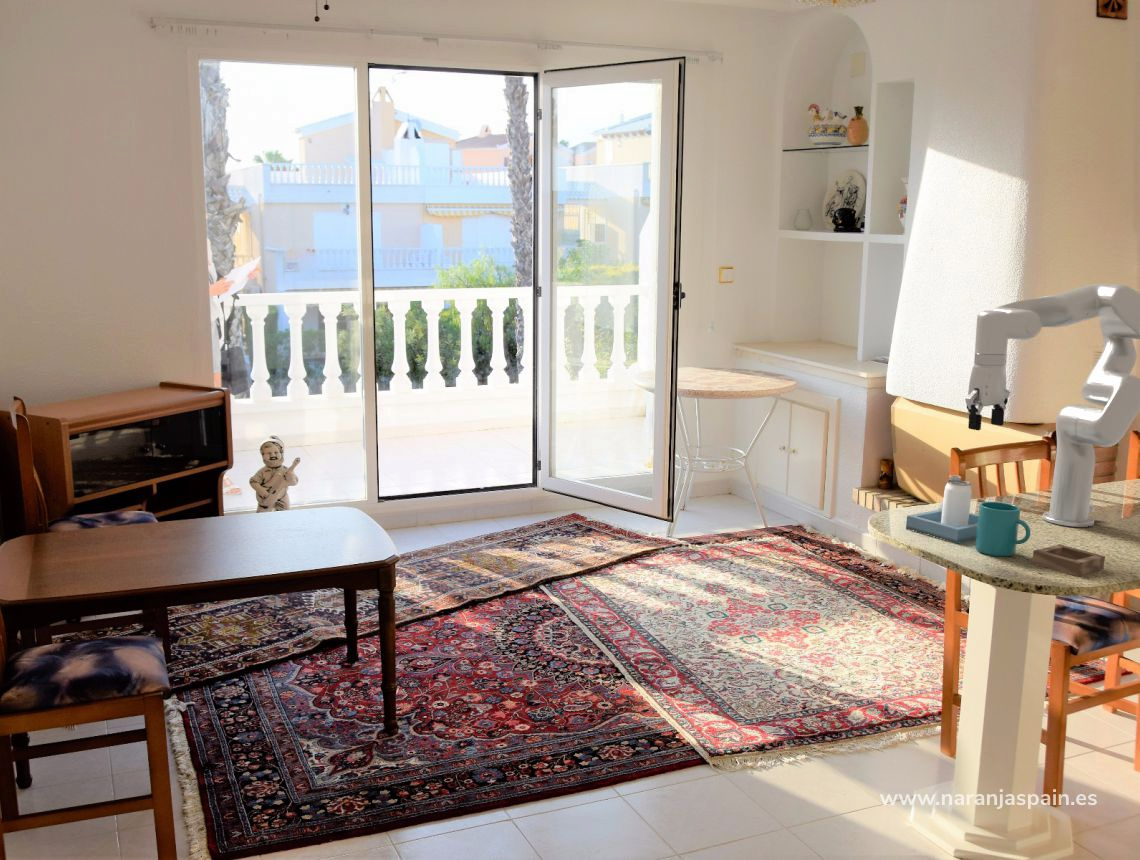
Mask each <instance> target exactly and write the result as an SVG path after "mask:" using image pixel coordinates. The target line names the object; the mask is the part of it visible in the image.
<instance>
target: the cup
mask: <svg viewBox="0 0 1140 860" xmlns="http://www.w3.org/2000/svg"><path fill="white" fill-rule="evenodd" d="M978 506H979V507H978V514H977V515H978V524H977V533H976V539H975V543H974V544H975V546H974V548H975V550H976V551H978V553H981V554H983V553H984V555H987V556H991V555H992V556H991V557H999V556H1000V557H1003V558H1005V557H1006V558H1007V557H1011V556H1015V554H1016V551H1017V545H1022V544H1025V543H1026V542H1027V541H1028V540H1029V538H1030V537H1031V528H1030V526H1029V524H1028V523H1027V522H1025V521H1024V520H1022V519H1020V515H1021V508H1020V507H1019V506H1017V505H1014V504H1011V503H1008V502H1007V503H1006V502H1000V501H983V502H980V503H979V505H978ZM1019 525H1021V526H1022V527H1023V528H1024V530H1025V535H1024V537H1023V538H1021V539H1018V534H1019V533H1018V532H1019Z"/></svg>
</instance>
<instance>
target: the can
mask: <svg viewBox="0 0 1140 860" xmlns="http://www.w3.org/2000/svg"><path fill="white" fill-rule="evenodd" d="M946 482H947V483H946V485H945V487H944V492H943V498H944V499H942V500H943V508H942V517H941V523H942V524H946V525H949V526H953V527H961V526H966V525H968V519H969V513H970V509H971V500H972V494H973V493H972V487H971V482H969V481H964V480H950V479H949V480H947V481H946Z"/></svg>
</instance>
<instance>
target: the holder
mask: <svg viewBox="0 0 1140 860" xmlns="http://www.w3.org/2000/svg"><path fill="white" fill-rule="evenodd" d="M1032 551H1033V553H1032V559H1031V563H1032V564H1033V565H1036V564H1037V566H1040V567H1043V568H1044V567H1045V568H1047V569H1050V570H1054V571H1058V572H1061V573H1063V574H1064V573H1065V574H1069V575H1072V576H1075V577H1080V576H1083V575H1087V574H1090V573H1094V572H1098V571H1101V569H1102V570H1104V569H1105V560H1106V556H1105V555H1101V554H1098V553H1094V552H1091V551H1090V552H1089V551H1086V550H1082V549H1078V548H1076V547H1071V546H1068V545H1065V544H1061V543H1060V544H1056V545H1051V546H1048V547H1044V548H1038V549H1034V550H1032Z"/></svg>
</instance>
